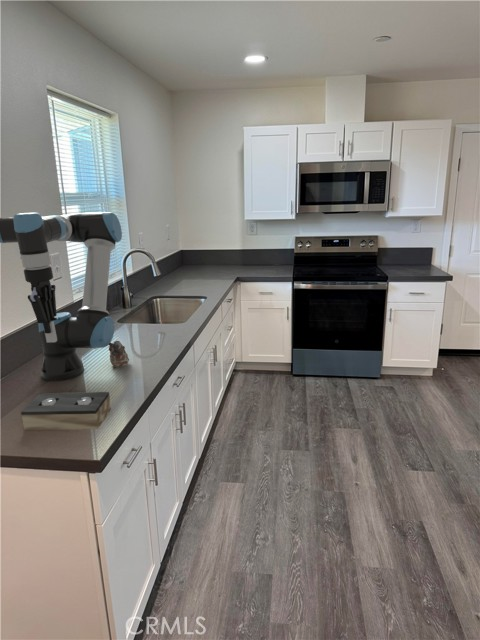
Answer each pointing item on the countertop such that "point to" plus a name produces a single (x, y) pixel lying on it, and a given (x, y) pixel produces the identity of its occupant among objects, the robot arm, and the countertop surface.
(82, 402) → the steel peg
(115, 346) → the figurine
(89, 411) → the block
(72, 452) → the countertop surface
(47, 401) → the steel peg
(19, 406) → the countertop surface
